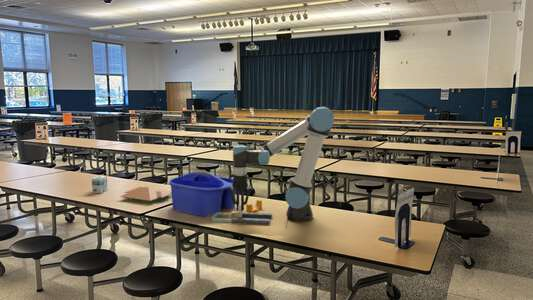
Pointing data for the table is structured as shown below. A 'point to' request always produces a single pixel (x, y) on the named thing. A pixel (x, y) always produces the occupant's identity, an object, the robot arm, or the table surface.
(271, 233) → the table surface
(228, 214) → the chip
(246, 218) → the slot rail
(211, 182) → the caddy
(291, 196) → the robot arm
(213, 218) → the tray
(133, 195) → the house
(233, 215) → the chip
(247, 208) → the pipe clamp
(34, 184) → the table surface
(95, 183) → the light bulb box
